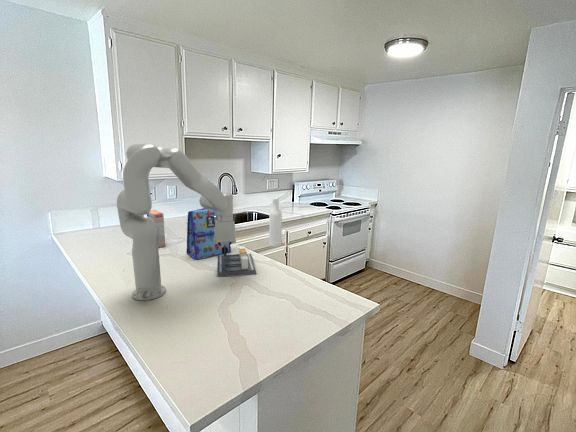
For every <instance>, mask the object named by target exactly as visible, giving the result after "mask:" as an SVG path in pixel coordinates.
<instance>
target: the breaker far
mask: <svg viewBox="0 0 576 432" xmlns="http://www.w3.org/2000/svg"><path fill="white" fill-rule="evenodd" d="M238 248H239V249H238V250H239V252H238V254H239V255H240V250H246V246H243V245H242V246H241V245H240V246H239V247H238Z"/></svg>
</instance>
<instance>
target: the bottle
mask: <svg viewBox="0 0 576 432" xmlns="http://www.w3.org/2000/svg"><path fill="white" fill-rule="evenodd" d="M279 203H280V197H276V196H275V197H272V208H271V210H270V211H269V214H268V215H269V218H268V219H269V221H268V222H269V224H268V225H269V227H268V229H269V231H268V232H269V242H268V244H269V247H271V248H280V247H281V246H283V245H282V243H283V239H282V237H283V235H282V234H283V216H282V215H283V214H282V211H281V210H280V209H279V207H280V204H279Z"/></svg>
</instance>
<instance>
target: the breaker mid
mask: <svg viewBox="0 0 576 432" xmlns="http://www.w3.org/2000/svg"><path fill="white" fill-rule="evenodd" d="M247 254H248V252H247V249H245V250H240V261H241V256H247Z"/></svg>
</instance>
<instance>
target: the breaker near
mask: <svg viewBox="0 0 576 432" xmlns="http://www.w3.org/2000/svg"><path fill="white" fill-rule="evenodd" d="M241 267H242V269H248V257H247V256H241Z"/></svg>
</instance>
